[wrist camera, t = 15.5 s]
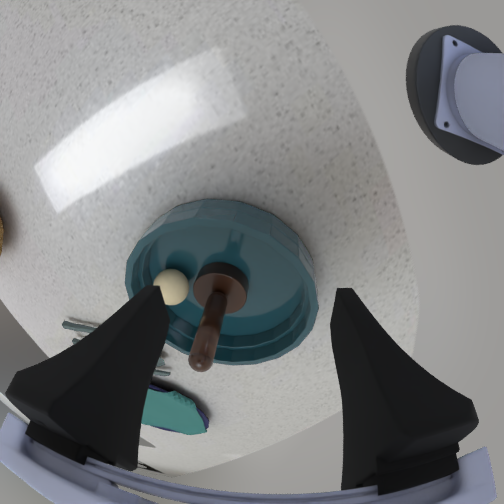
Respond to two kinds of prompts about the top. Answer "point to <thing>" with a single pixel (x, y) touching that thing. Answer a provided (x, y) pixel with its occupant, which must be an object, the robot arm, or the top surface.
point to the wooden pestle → (215, 308)
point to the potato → (1, 235)
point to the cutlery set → (163, 402)
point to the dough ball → (172, 286)
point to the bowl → (244, 258)
